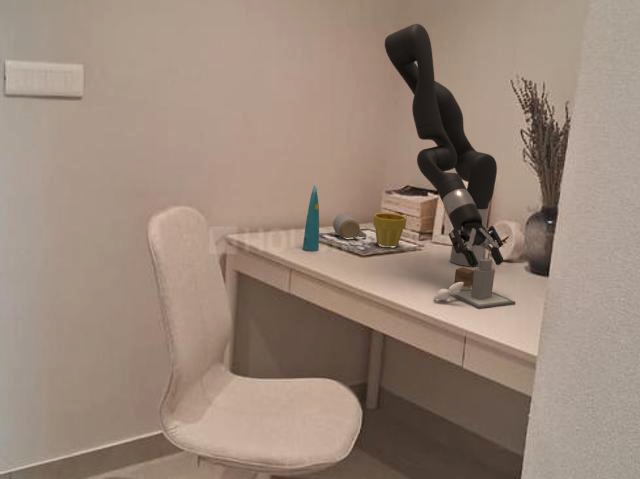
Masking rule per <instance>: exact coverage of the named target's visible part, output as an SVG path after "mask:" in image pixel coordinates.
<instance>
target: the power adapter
mask: <svg viewBox="0 0 640 479" xmlns="http://www.w3.org/2000/svg"><path fill="white" fill-rule="evenodd" d="M490 254H491V252H490V250H488V253H487V257H486V250H485V251H484V258H483V259H480V260H479V266H478V267H475V268H474V269H473V270H474V277H473V285H472V287H471V289H472V293H471V297H473V298H476V299H479V300H482V299H486V298H489V297H492V292H493V288H494V281H495V274H496V269H495V268H493V258H490Z"/></svg>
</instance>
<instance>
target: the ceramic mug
mask: <svg viewBox="0 0 640 479" xmlns="http://www.w3.org/2000/svg"><path fill="white" fill-rule="evenodd" d="M332 226H333V231H334V232H335V233H336V234H337V235H338V234H339V235H338V236H339V237H341V238H342V237H346V238H349V237H353V238H354V239H356V238H358V237H359V238H360V237H367V233H365V232H363V231H362V230H361V226H360V224H359V222H358V220H356V219H355V217H353V215H351V213H350V214H349V213H347V212H341V213H339V214H338V215H337V216H336V217H335V218H334V219H333V222H332ZM355 237H356V238H355Z"/></svg>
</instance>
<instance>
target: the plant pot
mask: <svg viewBox="0 0 640 479" xmlns="http://www.w3.org/2000/svg"><path fill="white" fill-rule="evenodd" d="M372 224H373V226H374V228H375V237H376V238H375V239H376V244H377V243H378V244H381V245H385V246H397V245H398V246H399V243H400V240H401V237H402V234H403V231H404V230H405V229H406V224H407V217H406V216H404V215H402V214H397V213H391V212H390V213H389V212H377V213H374V215H373V223H372ZM398 246H397V247H398Z"/></svg>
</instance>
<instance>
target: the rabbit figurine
mask: <svg viewBox="0 0 640 479" xmlns="http://www.w3.org/2000/svg"><path fill="white" fill-rule="evenodd" d="M463 284H464V282H458V283H455V284H454V283H453V284H452V285H450V286H449V287H448V289H447V288H440V289H439V290H438V291H437V293H436V295H435V296H434V297H433V300H432V301H437V300H441V301H447V300H448V299H449V298H450V295H457V294H459V293H460V290H461V288H462V287H464V286H463ZM449 302H450V303H452V300H451V299H450V300H449Z"/></svg>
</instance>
